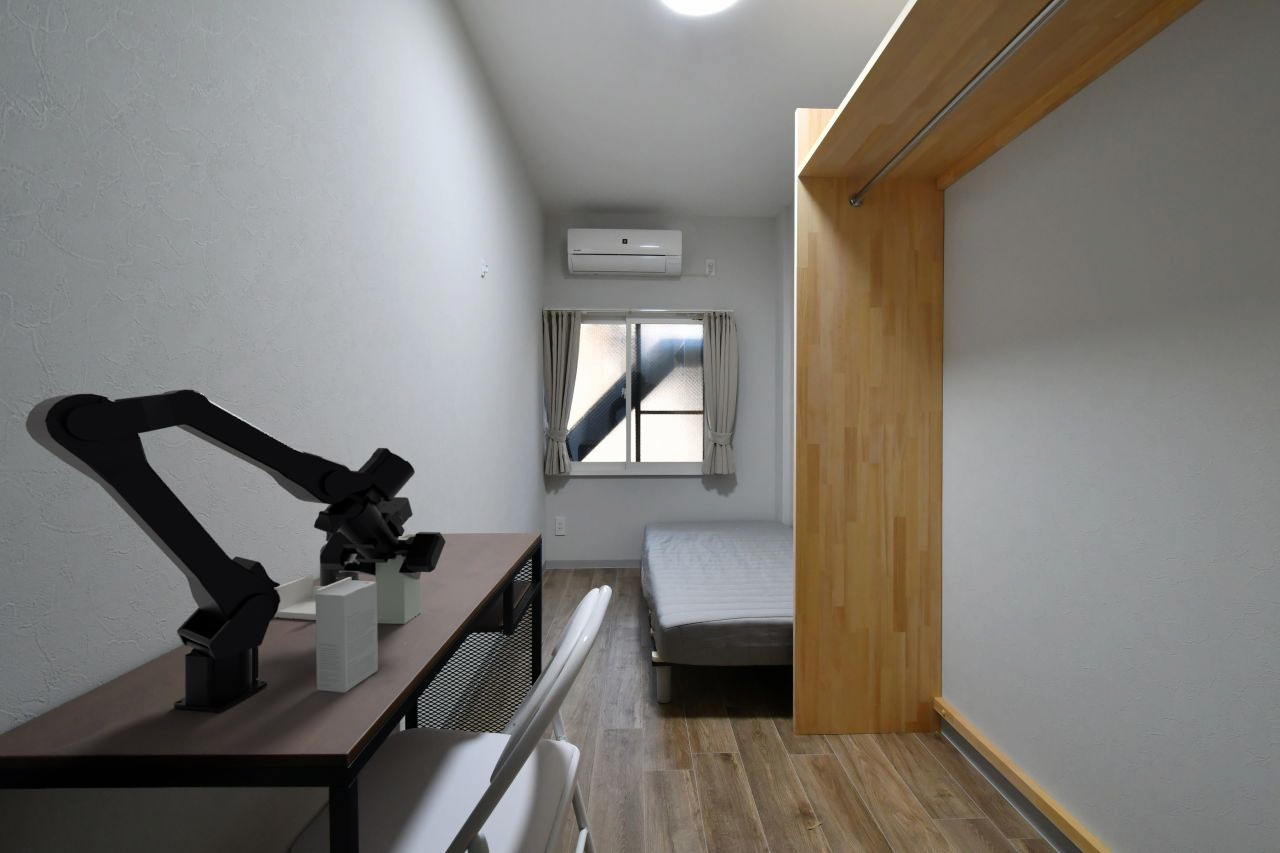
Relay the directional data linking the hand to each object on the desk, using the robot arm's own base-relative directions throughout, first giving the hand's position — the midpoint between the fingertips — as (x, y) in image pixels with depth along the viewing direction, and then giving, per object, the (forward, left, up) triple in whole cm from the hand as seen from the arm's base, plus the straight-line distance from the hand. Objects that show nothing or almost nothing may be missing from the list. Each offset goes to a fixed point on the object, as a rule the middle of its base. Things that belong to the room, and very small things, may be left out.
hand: (403, 576), depth 90 cm
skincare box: (-22, -7, -7) cm, 25 cm away
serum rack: (0, +13, -7) cm, 15 cm away
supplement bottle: (+11, +21, -7) cm, 24 cm away
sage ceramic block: (-1, 0, -7) cm, 7 cm away
